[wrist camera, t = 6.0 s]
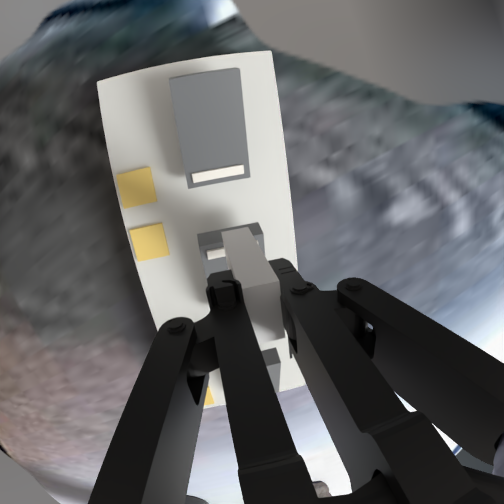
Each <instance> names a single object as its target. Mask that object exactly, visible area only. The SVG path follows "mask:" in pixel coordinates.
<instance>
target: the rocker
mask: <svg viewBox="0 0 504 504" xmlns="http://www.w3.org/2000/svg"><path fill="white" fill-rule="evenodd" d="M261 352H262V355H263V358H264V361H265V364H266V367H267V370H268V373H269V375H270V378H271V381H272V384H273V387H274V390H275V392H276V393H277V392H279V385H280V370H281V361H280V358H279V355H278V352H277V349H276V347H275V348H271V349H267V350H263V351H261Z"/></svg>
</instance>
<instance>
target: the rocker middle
mask: <svg viewBox="0 0 504 504" xmlns="http://www.w3.org/2000/svg"><path fill="white" fill-rule="evenodd" d="M244 227H248V228H249V230H250V231H251V233H252V235H253V236H254V238H255V240H256V242H257V243H258V245H259V247H260V248H261V250H262V252H263V254H264V255H265V246H264V234H263V231H262V229H261V227H260V225H259V223H258V222H255V223H250V224H245V225H240V226H235V227H230V228H225V229H220V230H215V231H210V232H205V233H200V234H197V238H198V245H199V250H200V254H201V258H202V263H203V267H204V271H205V275H206V280H207V278H208V277H209V275H210V274H211V273H215V272H220V271H225V270H228V266H227V261H226V255H225V250H224V245H223V239H222V234H221V232H224V231H229V230H234V229H239V228H244Z"/></svg>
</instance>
